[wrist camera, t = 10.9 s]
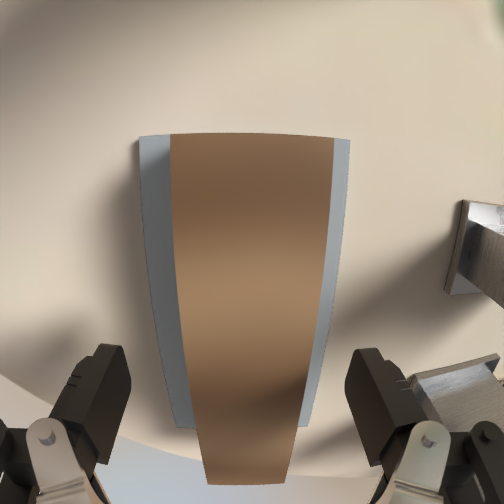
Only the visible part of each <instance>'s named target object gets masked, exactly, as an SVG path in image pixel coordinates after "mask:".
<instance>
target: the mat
mask: <svg viewBox="0 0 504 504" xmlns="http://www.w3.org/2000/svg"><path fill="white" fill-rule="evenodd" d="M349 153H350V140H348V139H338V138H334V157H333V174H332V188H331V202H330V214H329V225H328V235H327V245H326V254H325V263H324V271H323V280H322V287H321V295H320V302H319V310H318V316H317V323H316V330H315V336H314V342H313V349H312V355H311V360H310V366H309V372H308V377H307V383H306V388H305V393H304V398H303V403H302V408H301V413H300V418H299V422H298V427H305V426H308V424H309V420H310V416H311V411H312V407H313V403H314V399H315V395H316V390H317V386H318V381H319V376H320V372H321V367H322V362H323V357H324V352H325V347H326V342H327V336H328V331H329V325H330V319H331V314H332V308H333V301H334V295H335V288H336V282H337V275H338V267H339V260H340V252H341V244H342V235H343V226H344V217H345V207H346V195H347V183H348V169H349ZM139 156H140V184H141V203H142V217H143V230H144V241H145V251H146V261H147V270H148V278H149V286H150V293H151V300H152V307H153V314H154V320H155V327H156V333H157V338H158V344H159V349H160V355H161V360H162V365H163V370H164V375H165V380H166V384H167V389H168V394H169V398H170V402H171V407H172V411H173V415H174V419H175V423H176V427H178V428H194V429H196V424H195V419H194V413H193V407H192V401H191V395H190V389H189V382H188V375H187V369H186V361H185V354H184V346H183V338H182V330H181V321H180V312H179V303H178V293H177V282H176V270H175V257H174V242H173V226H172V205H171V175H170V135H155V136H141V137H139Z"/></svg>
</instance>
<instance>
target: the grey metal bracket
mask: <svg viewBox="0 0 504 504" xmlns="http://www.w3.org/2000/svg"><path fill="white" fill-rule="evenodd" d="M444 291H445V292H446V293H448V294H449V295H459V294H470V293H479V292H484V293H485V294H486V295H488V296H489V297H490V298H491V299H493V300H494V301H495V302H496V303H497V304H499V305H500V306H501V307H502V308H503V309H504V206H503V205H497V204H490V203H484V202H477V201H470V200H463V204H462V211H461V217H460V223H459V228H458V233H457V238H456V243H455V248H454V253H453V257H452V261H451V265H450V269H449V273H448V277H447V281H446V285H445V288H444Z"/></svg>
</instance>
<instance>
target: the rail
mask: <svg viewBox="0 0 504 504" xmlns="http://www.w3.org/2000/svg"><path fill="white" fill-rule="evenodd" d="M333 157H334V138H329V137H317V136H304V135H287V134H264V133H193V134H170V175H171V205H172V226H173V242H174V257H175V270H176V282H177V293H178V303H179V312H180V321H181V330H182V338H183V346H184V354H185V361H186V369H187V375H188V382H189V389H190V395H191V401H192V407H193V413H194V419H195V424H196V430H197V435H198V440H199V445H200V450H201V455H202V460H203V465H204V469H205V473H206V478H207V483H208V484H210V485H211V484H212V485H260V484H280V483H284V482H285V477H286V474H287V470H288V466H289V462H290V458H291V453H292V449H293V445H294V441H295V436H296V432H297V427H298V422H299V418H300V413H301V408H302V403H303V398H304V393H305V388H306V383H307V377H308V372H309V366H310V360H311V355H312V349H313V342H314V336H315V330H316V323H317V316H318V310H319V302H320V295H321V287H322V280H323V271H324V263H325V254H326V245H327V235H328V225H329V214H330V202H331V188H332V174H333Z"/></svg>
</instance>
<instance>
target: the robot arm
mask: <svg viewBox="0 0 504 504" xmlns="http://www.w3.org/2000/svg"><path fill="white" fill-rule="evenodd" d="M410 388H411V387H410V385H409V384H408V382H407V381H406V379H405V377H404V375H403V373H402V372H401V370H400V368H398V367H397V366H396V365H395V364H394V363H392V362H391V361H390V360H386V361H384V359H383V357H382V355H381V354H380V352H379V350H378V349H377V348H365V349H356V350H355V351H354V353H353V356H352V359H351V363H350V366H349V369H348V373H347V376H346V379H345V395H346V398H347V401H348V404H349V407H350V409H351V412H352V415H353V418H354V421H355V424H356V426H357V429H358V432H359V435H360V438H361V441H362V444H363V447H364V450H365V453H366V456H367V459H368V462H369V465H370V467H373V466H377V465H382V467H383V470H384V471H383V472H382V473H381V475H380V478H379V480H378V482H377V484H376V486H375V488H374V490H373V492H372V494H371V496H370V498H369V500H368V502H367V504H504V434H503V432H502V430H501V429H500V428H499V427H498V426H497V425H496V424H495V423H493V422H490V421H480V422H478V423H476V424H475V425H474V426H473V428H472V429H471V430H470V432H448V430H447V429H446V428H445V427H444V426H443V425H442V424H440V423H438V422H435V421H429V419H428V418H427V416H426V414H425V412H424V410H423V409H422V407H421V405H420V403H419V401H418V400H417V398H416V396H415V394H414V393H413V391H412V389H410ZM130 392H131V376H130V373H129V369H128V366H127V362H126V358H125V354H124V351H123V348H122V346H120V345H111V344H103V343H101V344H100V345H99V346H98V347H97V349H96V351H95V353H94V355H93V357H92V356H86V357H85V358H84V359H83V360H81V361H80V362H79V363H78V364H77V365H76V367H75V369H74V370H73V372H72V374H71V377H70V378H69V379H68V381H67V385H65V387H64V389H63V390H62V392H61V394H60V396H59V398H58V400H57V402H56V404H55V406H54V408H53V409H52V411H51V413H50V415H49V417H48V418H42V419H39V420H37V421H35V422H34V423H32V424H31V426H30V427H29V428H28V429H21V428H7V427H6V425H5V424H4V423H3V421H2V420H1V419H0V477H1V474H2V472H4V474H3V477H2V480H1V483H0V504H36V503H37V504H111V502H110V501H109V499H108V497H107V495H106V493H105V491H104V489H103V487H102V485H101V483H100V481H99V479H98V478H97V475H96V473H95V471H94V469H95V466H96V463H101V464H105V465H108V462H109V458H110V455H111V451H112V448H113V445H114V442H115V438H116V435H117V432H118V429H119V426H120V422H121V419H122V416H123V413H124V410H125V407H126V404H127V401H128V398H129V395H130ZM475 474H476V476H477V478H478V481H479V483H480V486H481V488H482V490H483V493H484V496H485V502H484V501H483V498H482V496H481V493H480V491H479V488H478V486H477V484H476V481H475V479H474V475H475ZM39 492H40V494H39Z"/></svg>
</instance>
